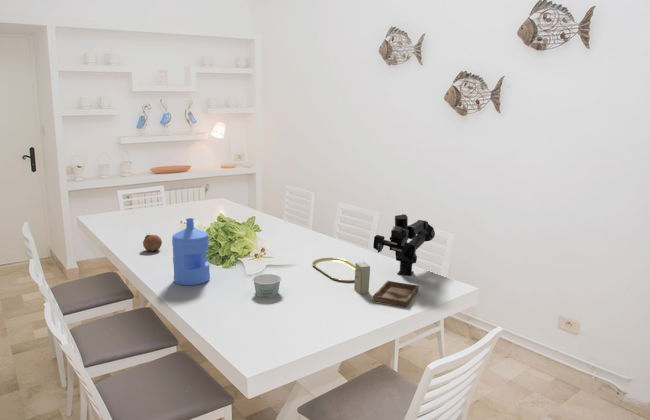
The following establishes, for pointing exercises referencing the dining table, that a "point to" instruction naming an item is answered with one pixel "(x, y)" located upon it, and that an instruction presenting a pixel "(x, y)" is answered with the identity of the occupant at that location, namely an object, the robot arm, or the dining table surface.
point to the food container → (266, 285)
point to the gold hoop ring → (334, 260)
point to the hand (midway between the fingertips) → (388, 254)
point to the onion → (152, 242)
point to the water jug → (190, 255)
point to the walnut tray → (396, 294)
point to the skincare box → (362, 277)
